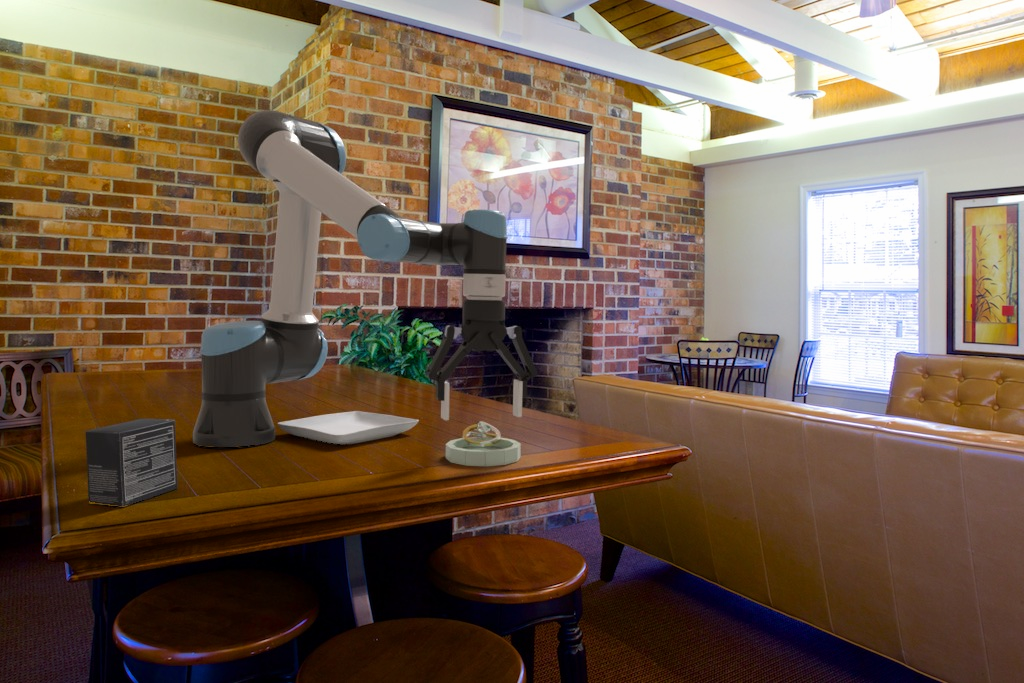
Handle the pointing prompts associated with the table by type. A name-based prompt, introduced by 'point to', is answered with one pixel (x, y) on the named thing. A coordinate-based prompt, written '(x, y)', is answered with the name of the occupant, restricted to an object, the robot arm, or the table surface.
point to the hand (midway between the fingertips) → (481, 417)
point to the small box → (131, 461)
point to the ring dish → (483, 452)
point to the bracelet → (482, 429)
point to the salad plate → (348, 427)
